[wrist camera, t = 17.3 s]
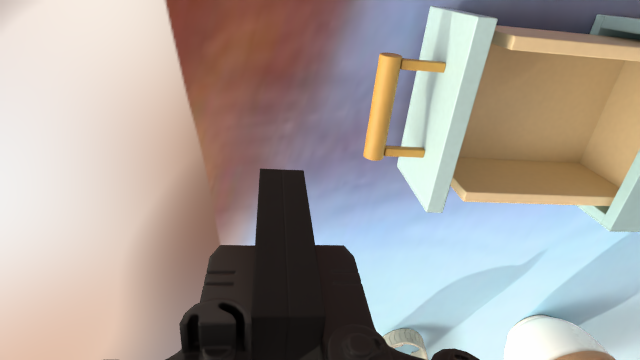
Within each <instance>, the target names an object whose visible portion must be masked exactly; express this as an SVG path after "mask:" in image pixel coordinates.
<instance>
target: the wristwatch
mask: <svg viewBox="0 0 640 360" xmlns="http://www.w3.org/2000/svg"><path fill="white" fill-rule="evenodd" d="M383 338H384V339H385V341H386V343H387V344H388V345H389V346H390V347H392V348H397V347H400V346H403V344H410V345H414V346H416V347H418V348H419V350H418V351H417V352H412V353H411V354H410V355H411V356H415V357H419V358H423V359H426V360H428V358H427V353H426V349H425V346H424V342H423V339H422V337H421V335H420V334H419V333H418V332H416V331H414V330H411V329H405V328H404V329H397V330H394V331H391V332H389V333H387V334H386V335H384V336H383Z"/></svg>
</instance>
